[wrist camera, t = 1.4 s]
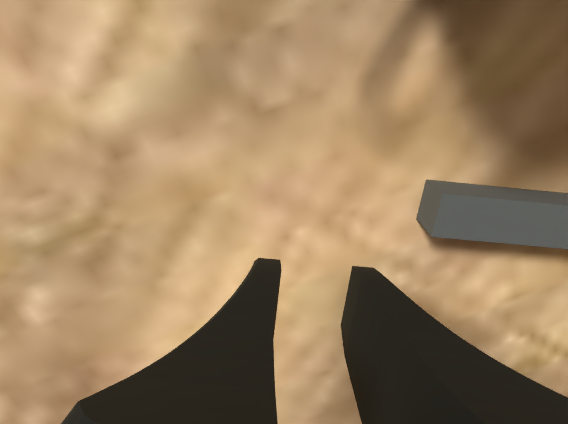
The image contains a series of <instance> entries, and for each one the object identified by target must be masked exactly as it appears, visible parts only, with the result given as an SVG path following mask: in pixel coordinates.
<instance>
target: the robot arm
mask: <svg viewBox="0 0 568 424" xmlns="http://www.w3.org/2000/svg"><path fill="white" fill-rule="evenodd" d="M280 277H281V262H280V260H276V259H264V258H258V259H257V260H255V261H254V264H253V266H252V268H251V270H250V272H249V273H248V275H247V276H246V278H245V279H244V281H243V282H242V284H241V285H240V286H239V288H238V289H237V290H236V292H235V293H234V294H233V295H232V297H231V298H230V299H229V300H228V301H227V302H226V303H225V304H224V306H223V307H222V308H221V309H220V310H219V311H218V312H217V313H216V314H215V315H214V316H213V317H212V318H211V319H210V320H209V321H208V322H207V323H206V324H205V325H204V326H203V327H201V328H200V329H199V330H198V331H197V332H196V333H195V334H193V335H192V336H191V337H190V338H188V339H187V340H186V341H184V342H183V343H182V344H181V345H179V346H178V347H177V348H175V349H174V350H173V351H171V352H170V353H168V354H167V355H165V356H164V357H162V358H161V359H159V360H157V361H156V362H154V363H153V364H151V365H149V366H148V367H146V368H144V369H142V370H141V371H139V372H137V373H135V374H134V375H132V376H130V377H128V378H126V379H124V380H122V381H120V382H118V383H116V384H114V385H112V386H110V387H108V388H106V389H104V390H101V391H99V392H97V393H95V394H93V395H91V396H89V397H87V398H84V399H82V400H80V401H78V402H77V403H76V405H75V406H74V407H73V409H72V410H71V411H70V413H69V414H68V415H67V417H66V418H65V419H64V421H63V422H62V423H61V424H277V411H276V397H275V379H274V350H273V337H274V329H275V320H276V311H277V303H278V294H279V286H280ZM341 330H342V339H343V347H344V354H345V359H346V364H347V367H348V371H349V375H350V379H351V383H352V387H353V391H354V395H355V398H356V402H357V406H358V410H359V414H360V417H361V421H362V424H568V397H565V396H563V395H561V394H559V393H557V392H555V391H553V390H551V389H549V388H547V387H545V386H543V385H541V384H539V383H537V382H535V381H533V380H531V379H529V378H527V377H525V376H523V375H522V374H520V373H518V372H516V371H514V370H513V369H511V368H509V367H507V366H505V365H503V364H502V363H500V362H498V361H497V360H495V359H493V358H492V357H490V356H488V355H487V354H485V353H483V352H482V351H480V350H479V349H477V348H476V347H474V346H473V345H471V344H469V343H468V342H466V341H465V340H463V339H462V338H460V337H459V336H457V335H456V334H455V333H453V332H452V331H450V330H449V329H448V328H446V327H445V326H444V325H442V324H441V323H440V322H438V321H437V320H436V319H434V318H433V317H432V316H430V315H429V314H428V313H427V312H425V311H424V310H423V309H422V308H421V307H419V306H418V305H417V304H416V303H415V302H413V301H412V300H411V299H410V298H409V297H407V296H406V295H405V294H404V293H403V292H402V291H401V290H399V289H398V288H397V287H396V286H395V285H394V284H393V283H391V282H390V281H389V280H388V279H387V278H386V277H384V276H383V275H382V274H381V273H380V272H378V271H377V270H376V269H374V268H369V267H358V266H352V270H351V276H350V281H349V286H348V291H347V296H346V301H345V306H344V312H343V317H342V322H341Z"/></svg>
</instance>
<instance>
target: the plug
mask: <svg viewBox="0 0 568 424" xmlns="http://www.w3.org/2000/svg"><path fill="white" fill-rule="evenodd" d="M416 219H417V221H418V222H419V223H420V224H421V225H422V227H423V228H424V229H425V230H426V231H427V233H428V234H429V235H430V236H431V237H439V238H450V239H461V240H472V241H483V242H494V243H505V244H517V245H528V246H539V247H550V248H561V249H568V193H558V192H548V191H538V190H527V189H517V188H507V187H497V186H487V185H476V184H466V183H456V182H446V181H435V180H426V183H425V186H424V190H423V194H422V198H421V202H420V206H419V210H418V214H417V218H416Z"/></svg>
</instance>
